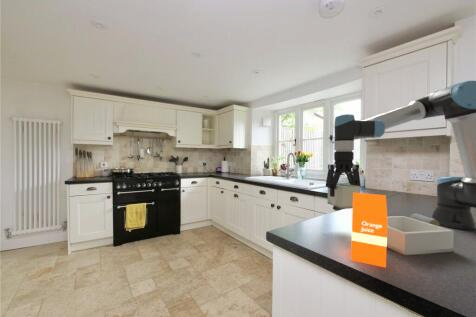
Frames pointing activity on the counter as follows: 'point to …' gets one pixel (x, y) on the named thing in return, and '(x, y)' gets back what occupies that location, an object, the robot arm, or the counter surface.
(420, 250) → the grey crate
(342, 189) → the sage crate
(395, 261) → the counter surface
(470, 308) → the counter surface
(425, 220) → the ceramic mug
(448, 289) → the counter surface
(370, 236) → the orange juice
